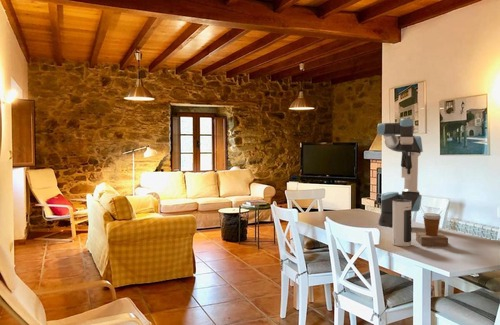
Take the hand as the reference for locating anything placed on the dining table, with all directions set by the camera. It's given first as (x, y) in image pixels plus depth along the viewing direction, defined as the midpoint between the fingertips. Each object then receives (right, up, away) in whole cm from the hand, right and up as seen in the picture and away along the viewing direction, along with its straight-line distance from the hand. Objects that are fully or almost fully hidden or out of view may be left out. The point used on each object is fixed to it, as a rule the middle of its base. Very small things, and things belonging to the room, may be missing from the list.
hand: (406, 178), depth 252 cm
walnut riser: (+10, -37, -13) cm, 41 cm away
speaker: (-8, -38, -15) cm, 41 cm away
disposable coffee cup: (+10, -33, -13) cm, 36 cm away
